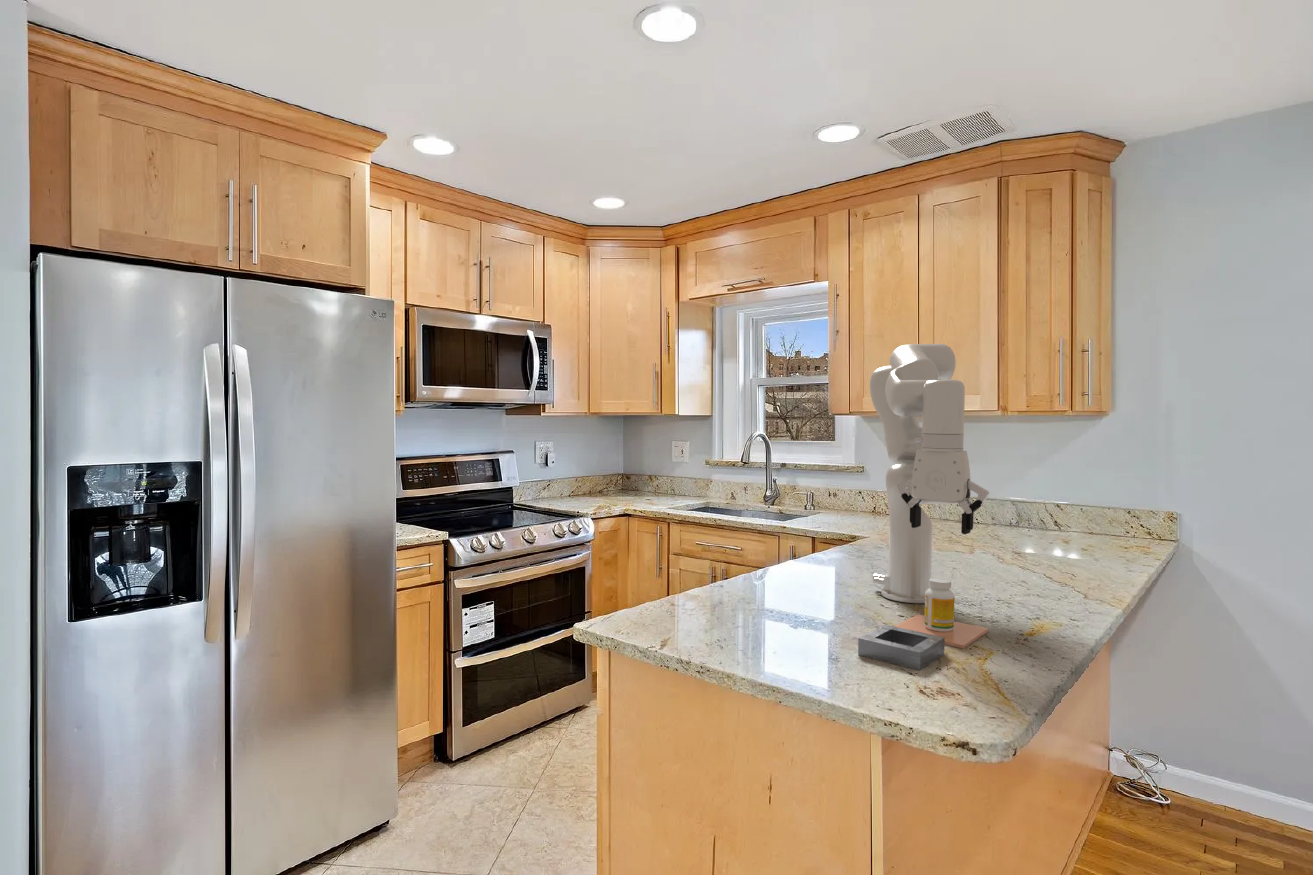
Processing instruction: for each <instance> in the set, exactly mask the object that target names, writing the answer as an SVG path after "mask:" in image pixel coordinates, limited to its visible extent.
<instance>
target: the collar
mask: <svg viewBox="0 0 1313 875" xmlns="http://www.w3.org/2000/svg"><path fill="white" fill-rule="evenodd" d="M857 640H858V643H857V644H858V645H857V646H858V647H857V655H858V656H861V657H865V658H869V659H873V660H876V661H881V662H885V663H890V664H892V665H897V666H900V667H905V668H909V669H912V670H913V669H914V670H916V671H922V670H923V669H925V668H926V667H928V666H929V665H930V664H932V663H933V662H935V661H937V660H938V659H939V658H941V657H942V656H944V655H945V645H946V644H945V637H941V636H936V635H931V634H927V633H922V632H917V631H913V630H908V629H903V628H899V627H895V626H894V625H888V624H884V625H882V626H879V627H877V628H876V629H873V630H872V631H870V632H867V633H865V634H863V635H861V636H860V637H858V639H857Z"/></svg>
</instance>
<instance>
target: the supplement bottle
mask: <svg viewBox="0 0 1313 875" xmlns="http://www.w3.org/2000/svg"><path fill="white" fill-rule="evenodd" d="M929 586H930V588H929V589H927V590H926V592H925V603H924V616H925V617H924V625H925V627H926V628H927V629H929V630H933V631H939V632H949V631H952V630H953V628H954V622H955V600H956V599H955V598H956V597H955V593H954V592H953V591H952V590H950V589H952V580H951V579H948V578H943V577H931V579H929Z"/></svg>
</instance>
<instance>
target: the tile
mask: <svg viewBox="0 0 1313 875" xmlns="http://www.w3.org/2000/svg"><path fill="white" fill-rule="evenodd" d="M924 617H925V614H924V615H923V614H915V615H914V616H912V617H910V618H908V619H906V620H904V621H902V622H900V623H899V624H897V625H895V626H894V627H899V628H903V629H908V630H913V631H917V632H922V633H927V634H931V635H936V636H941V637H945V645H946V646H950V647H956V648H958V649H959V648H960V649H966V648H967V647H968V646H969V645H972V644H973V643H974V642H975V641H977V640H978V639H980V638H981V637H982V636H985V635H986V633H989V628H988V627H983V626H979V625H974V624H973V625H972V624H970V623H969V624H968V623H963V622H958V621H954V628H953V630H952V631H949V632H939V631H933V630H929V629H927V628H926V627H925V625H924Z"/></svg>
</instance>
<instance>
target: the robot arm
mask: <svg viewBox="0 0 1313 875" xmlns="http://www.w3.org/2000/svg"><path fill="white" fill-rule="evenodd" d="M956 362H957V361H956V356H955V353H954V351H953V349H952V348H951V347H950V346H948V345H947V344H943V343H909V344H903V345H900V346H898V347H897V348H895V349H894V350H893V352H892V353H891V355H890V357H889V365H885V366H882V367H879V368H877V369H875V370H874V371H873V372H872V373H871V375H870V380H869V389H870V390H869V391H870V398H871V401H872V404H873V407H874V409H875V411H876V413H877V415H878V417H879V419H880V421H881V423H882V426H883V427H882V428H883V433H884V438H885V439H884V441H885V446H886V451H887V455H888V458H889V460H890V462H891V463H892V464H893V465H892V466H891V465H890V467H888V470H887V471H886V475H885V488H886V494H887V495H886V496H887V502H888V566H887V567H888V569H887V570H888V572H887V574H886V575H883V574H881V573H874V574H873V575H872V582H873V583H874V584H880V585H882V586H883V587H882V588H881V590H880V591H881V596H882V597H884V598H885V599H889V600H891V601H896V602H901V603H907V604H908V603H909V604H925V592H926V590H927V589H929V588H930V586H929V579H931V578H932V571H933V570H932V569H933V568H932V566H933V565H932V561H933V560H932V559H933V558H932V557H933V522H932V519H931V517H930V516H929V514H927V513H926V511H924V509H923V508H922V507H921V505H929V504H930V505H931V504H933V505H954V504H958V505H959V507H961V509H962V510H963V513H962V514H961V534H962V535H967V534H970V533H971V531H973V528H974V513H975V512H976V511H977V510H978V509H979V508H981V507H982V506H983V505H984V503H985V501H986V500H987V498H988V497H989V496H990V491H989V490H987V489H986V488H984V487H982V486H981V485H978V484H977V483H975V482H973V481H971V480H972V479H971V469H970V462H969V456H968V455H969V454H968V452H967V450H964V442H965V441H964V436H965V435H964V433H965V400H966V399H965V397H966V396H965V394H966V388H965V385H964V383H963V381H961V380H959V379H952V377H953V376H954V373H955V369H956V365H957V364H956ZM919 417H922V424H921V425H922V427H921V426H920V422H919ZM971 492H973V493H976V494H977V498H976V500H975V501H973V502H972V501H971V500H970V498H971Z"/></svg>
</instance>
